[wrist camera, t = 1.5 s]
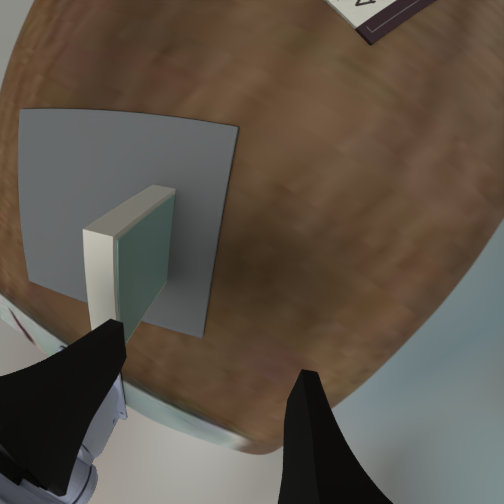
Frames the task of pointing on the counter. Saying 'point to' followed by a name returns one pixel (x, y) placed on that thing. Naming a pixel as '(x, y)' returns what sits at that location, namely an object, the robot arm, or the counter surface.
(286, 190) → the counter surface
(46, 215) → the mat
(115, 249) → the tile
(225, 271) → the counter surface
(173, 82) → the counter surface
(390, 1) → the chocolate bar
